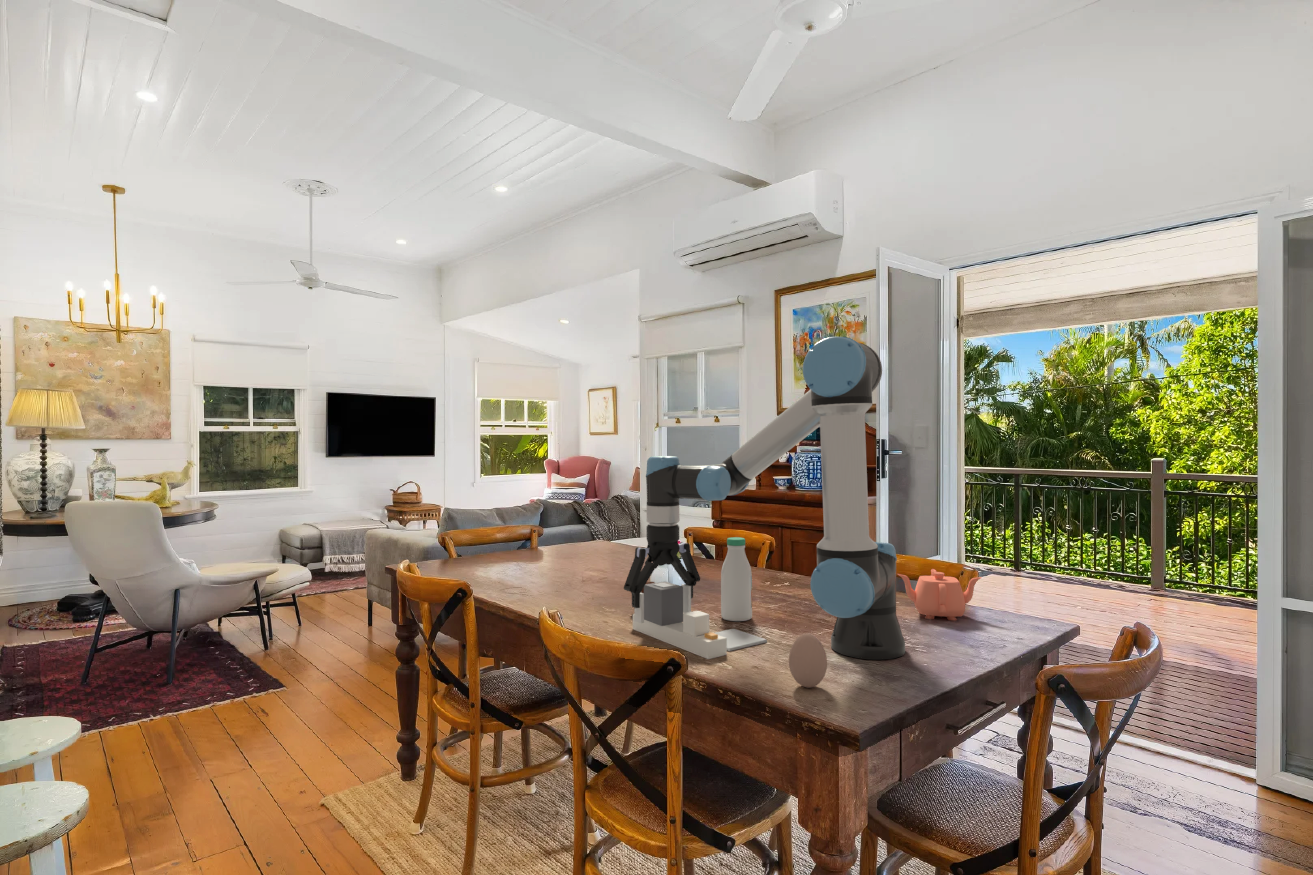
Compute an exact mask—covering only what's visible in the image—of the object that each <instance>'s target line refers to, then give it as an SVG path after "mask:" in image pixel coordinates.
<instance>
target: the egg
mask: <svg viewBox="0 0 1313 875" xmlns="http://www.w3.org/2000/svg"><path fill="white" fill-rule="evenodd" d="M788 667H789V671H790V674H791V676H792V677H793V679H794V680H795V682H796V683H797V684H799V685H800V686H801V687H804V688H806V689H808V688H815V687H817V686H818V685H819V684H820V683H821V682H822V681H823V679H824V678H825V676H826V674H827V669H828V660H827V653H826V650H825V648H824V646H823V644H822V642H821V640H820V639H819V638H818V637H817V636H816V635H814V634H813V633H810V632H805V633H802V634H800V635H799V636H797V637H796V638H795V640H794V641H793V644H792V645H791V648H790V651H789V654H788Z"/></svg>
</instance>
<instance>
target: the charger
mask: <svg viewBox="0 0 1313 875" xmlns="http://www.w3.org/2000/svg"><path fill="white" fill-rule="evenodd" d="M644 620H647V621H649V622H652V623H655V624H657V625H660V626H665V625H670V624H675V623H680V622H682V623H683V586H681V585H679V584H675V583H672V582H668V581H659V582H655V583H652V584H645V586H644Z"/></svg>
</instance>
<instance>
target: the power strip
mask: <svg viewBox="0 0 1313 875" xmlns="http://www.w3.org/2000/svg"><path fill="white" fill-rule="evenodd" d="M632 630H634V631H636V632H638V633H642V634H644V635H646V636H648V637H652V638H654V639H657V640H659V641H661V642H664V643H666V644H669V645H672V646H674V647H677V648H679V649H682V650H684V651H687V652H689V653H692V654H694V655H696V656H699V657H702V658H704V659H706V660H710V659H711V660H712V659H715V658H719V657H723V656H727V655H728V653H727V638H725V637H722V636H720V635H718V634H715V633H716V632H711V631H709V632H708V633H705V634H702V635H698V636H693V635H690V634H688V633H685V632H683V622H680V623H675V624H670V625H665V626H660V625H657V624H655V623H652V622H649V621H647V620H644V623H639V622H636V621H634V613H632Z"/></svg>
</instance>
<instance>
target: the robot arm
mask: <svg viewBox="0 0 1313 875" xmlns="http://www.w3.org/2000/svg"><path fill="white" fill-rule="evenodd" d="M802 376H803V378H804V379H803V380H804V381H805V383H806V386H807V387H808V388H809V390H808V391H807V392H806V393H804V394H803V395H802V396H801V397H799V398H798V399H797V400H796V401H795V402H793V403H792V404H791V405H790V406H789V407H787V408H786V409H785V410H784V411H783V412H781V413H780V414H779V415H778V416H776V417H775V418H774V419H773V420H771V421H770V422H769V423H768V424H767V425H765V427H763V428H762V429H761V430H760V431H758V432H757V433H756V434H755V435H753V437H751V438H750V439H749V440H747V441H746V442H745V443H744V444H742V445H741V447H739V448H738V449H737V450H735V451H734V452H733V453H732V454H731V455H730V456H728V457H727V458H726V459H725V460H723V461H722V462H721V463H719V464H706V465H705V464H704V465H683V464H680V459H679V457H678V456H677V455H676V456H672V455H660V456H659V455H656V456H654V455H653V456H650V457H648V458H647V460H646V471H645V472H646V473H645V479H646V480H645V481H646V484H645V485H646V522H647V523H648V524H647V525H646V541H647V542H646V543H647V546H646V547H639V546H638V547H637V546H636V547H635V549H634V558H633V560H632V563H631V566H630V569H629V572H628V574H627V577H626V580H625V582H624V586H623V590H624V591H627V592H628V593H629V592H630V593H631V607H632V608H634V610H633V611H634V613H633V614H634V621H636V622H639V623H644V593H641V591H642V589H643V588H644V586H645V584H646V583H647V582H649V579H650V578H651V576H652V574H653V572H654V571H655V570H656V569H657V568H658V567H659V566H660V567H661V566H662V567H663V566H665V565H671V566H672V567H673V569H674V570H675V572H676V573H677V574H678V576H679V577H680V579H681V580H682V582H683V583H682V584H680V586H683V613H687V612H692V599H693V598H694V587H695V586H696V585H697V582H700V581H701V576H700V573H699V571H698V568H697V566H696V564H695V561H694V559H693V556H692V553H691V545H690V543H688V542H684V541H681V542H680V543H679V540H680V525H679V524H678V523H680V518H681V517H680V500H682V499H683V500H684V499H685V500H687V499H688V500H702V501H708V502H712V501H724V500H725V499H726V498H727V496H736V495H739V494H741V493H743V492H745V490H746V489H747V487H748V486H749V483H751V481H753V479H755V478H756V477H757V476H758V475H760V474H761V473H763V471H765V470H766V469H767V468H768V467H770V466H771V465H772V464H774V463H775V462H777V461H778V460H779V459H780V458H781V457H783V456H784V455H785V454H786V453H788V452H789V451H791V450H792V449H793V448H794V447H795V446H797V445H798V444H799V443H800V442H802V441H803V440H804V439H806V438H807V437H808V436H809V435H810V434H812V433H813V432H814V431H816V430H817V429H818V428H819V433H820V434H819V435H820V454H821V455H820V459H821V483H822V484H821V485H822V490H821V491H822V509H823V510H822V513H823V514H822V515H823V517H822V518H823V519H822V520H823V537H822V539H821V540H820V541H819V542H818V543H817V544H816V567H815V568H814V569H813V572H812V573H811V577H810V591H811V592H810V593H811V595H812V596H813V599H814V601H815V603H817V605H818V606H819V607H820V608H821V609H822V610H823V611H825V613H827V614H829V615H831V616H834V617H836V621H835V623H834V627H833V630H832V633H831V634H830V635H831V636H830V647H831V649H832V650H833V651H834V652H835V653H838V654H840V655H844V656H847V657H851V658H856V659H863V660H876V661H877V660H878V661H879V660H883V661H884V660H891V659H897V658H900V657H902V656H904V655H905V654H906V641H905V638H904V636H903V632H902V629H901V626H900V623H899V619H898V617H897V560H898V557H897V553H896V552H897V551H896V548H895V546H894V545H893V544H892V543H889V542H881V541H874V540H873V539H872V538H871V537H870V525H869V523H870V522H869V499H868V498H869V497H868V496H869V494H868V473H867V472H868V470H867V466H868V465H867V444H866V442H867V441H866V439H867V438H866V417H865V415H866V413H867V412H868V411H869V410H870V409H871V408H872V407H873V392H874V391H875V390H876V388H877V387H878V386H879V384H880V381H881V380H882V376H883V366H882V361H881V359H880V356H879V355H878V353H877V352H876V351H875V350H874V349H873V348H872V347H870V346H869V345H867V344H864V343H861V342H858V341H857V340H855V339H852V338H850V337H847V336H829V337H825V338H823V339H821V340H819V341H817V342H816V343H814V345H813V346H811V347H810V349H808V351H807V353H806V355H805V357H804V360H803V363H802ZM678 553H680V556H681V558H682V559H680V558H679V556H678ZM647 556H648V557H647ZM682 561H683V563H682Z"/></svg>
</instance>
